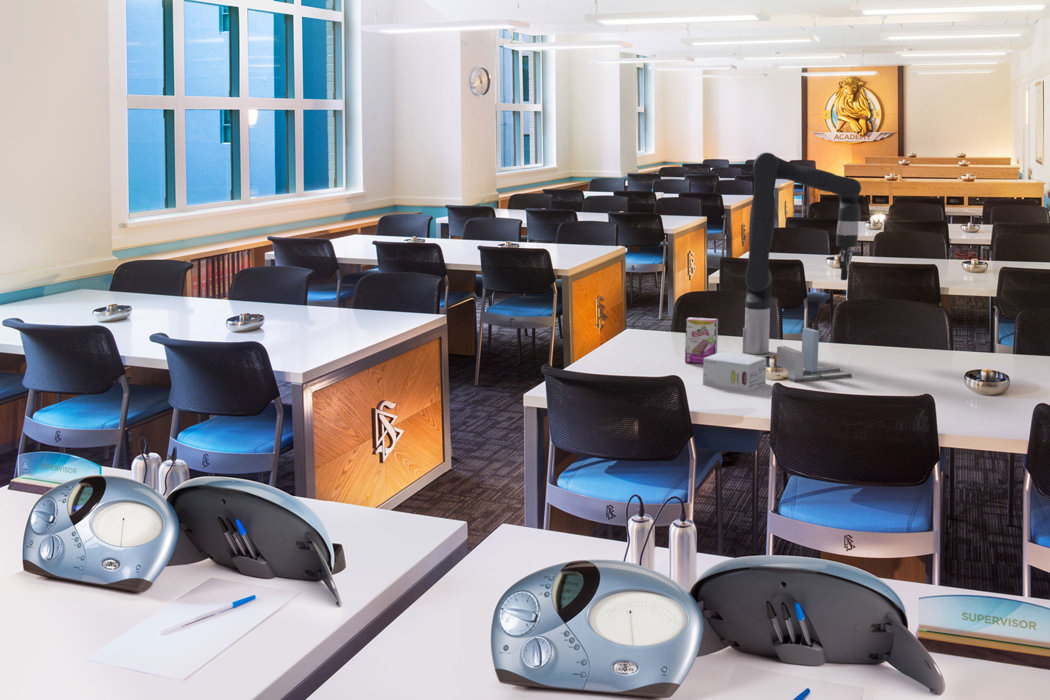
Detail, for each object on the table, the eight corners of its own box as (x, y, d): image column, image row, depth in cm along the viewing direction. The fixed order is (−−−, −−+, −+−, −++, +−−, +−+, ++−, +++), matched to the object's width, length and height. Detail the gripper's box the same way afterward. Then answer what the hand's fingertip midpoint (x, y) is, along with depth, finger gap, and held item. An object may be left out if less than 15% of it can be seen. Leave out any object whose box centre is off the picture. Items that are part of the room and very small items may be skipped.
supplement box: (701, 385, 341) (702, 357, 339) (720, 377, 351) (721, 351, 349) (748, 392, 331) (749, 363, 329) (766, 384, 341) (767, 357, 339)
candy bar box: (684, 363, 374) (685, 319, 371) (687, 360, 379) (687, 317, 375) (715, 365, 370) (716, 320, 367) (717, 362, 375) (718, 318, 372)
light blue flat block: (806, 368, 355) (807, 327, 352) (823, 374, 345) (824, 332, 342) (801, 368, 354) (802, 328, 352) (817, 375, 345) (819, 333, 342)
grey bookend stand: (831, 369, 359) (832, 342, 357) (851, 377, 348) (852, 348, 346) (776, 374, 353) (777, 346, 351) (794, 382, 342) (795, 353, 340)
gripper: (840, 231, 383) (837, 277, 386) (833, 234, 371) (829, 281, 375) (861, 232, 379) (857, 278, 383) (854, 235, 368) (850, 282, 371)
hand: (844, 279), depth 379 cm, fingers closed
